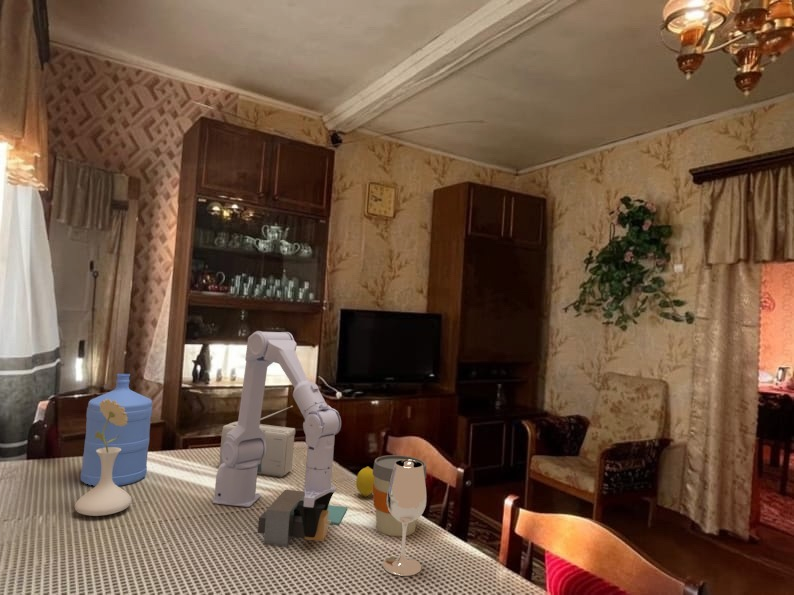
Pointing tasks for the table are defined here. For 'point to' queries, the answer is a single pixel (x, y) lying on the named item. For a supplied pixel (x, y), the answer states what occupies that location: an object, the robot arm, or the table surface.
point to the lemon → (365, 481)
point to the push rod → (296, 530)
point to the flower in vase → (106, 472)
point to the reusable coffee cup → (380, 489)
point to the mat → (336, 514)
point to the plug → (321, 527)
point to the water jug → (130, 438)
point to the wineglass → (405, 509)
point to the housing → (282, 518)
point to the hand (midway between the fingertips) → (314, 529)
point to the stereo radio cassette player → (271, 448)
